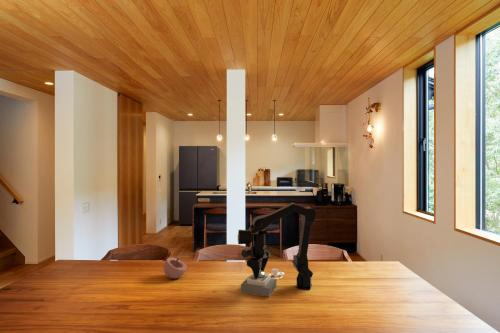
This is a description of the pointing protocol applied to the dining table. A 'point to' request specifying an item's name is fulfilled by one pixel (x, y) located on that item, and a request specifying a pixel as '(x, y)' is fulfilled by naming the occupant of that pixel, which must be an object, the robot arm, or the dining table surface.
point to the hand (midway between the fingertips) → (259, 275)
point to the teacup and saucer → (277, 273)
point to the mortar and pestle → (174, 267)
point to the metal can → (261, 276)
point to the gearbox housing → (259, 286)
